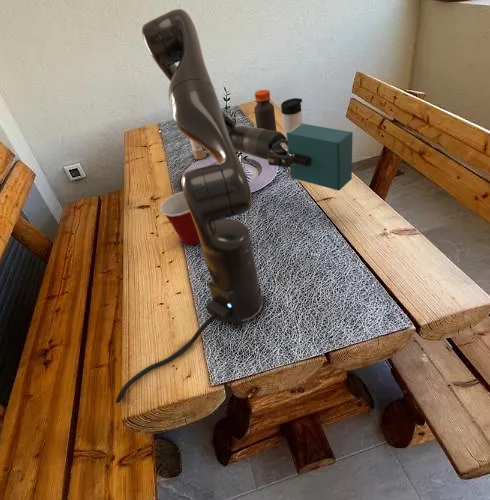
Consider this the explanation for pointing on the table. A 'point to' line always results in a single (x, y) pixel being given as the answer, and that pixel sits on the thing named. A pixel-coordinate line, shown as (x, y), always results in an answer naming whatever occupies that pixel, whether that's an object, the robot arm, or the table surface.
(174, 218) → the plastic cup
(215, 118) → the robot arm
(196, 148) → the sprinkles bottle
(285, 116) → the travel mug
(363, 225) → the table surface
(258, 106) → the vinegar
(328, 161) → the matte teal cuboid
